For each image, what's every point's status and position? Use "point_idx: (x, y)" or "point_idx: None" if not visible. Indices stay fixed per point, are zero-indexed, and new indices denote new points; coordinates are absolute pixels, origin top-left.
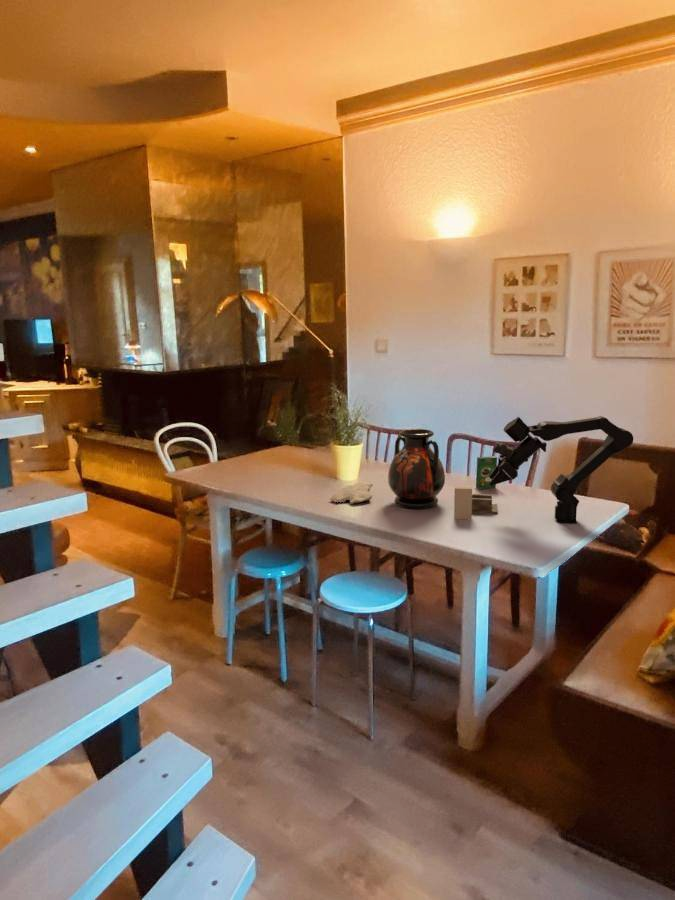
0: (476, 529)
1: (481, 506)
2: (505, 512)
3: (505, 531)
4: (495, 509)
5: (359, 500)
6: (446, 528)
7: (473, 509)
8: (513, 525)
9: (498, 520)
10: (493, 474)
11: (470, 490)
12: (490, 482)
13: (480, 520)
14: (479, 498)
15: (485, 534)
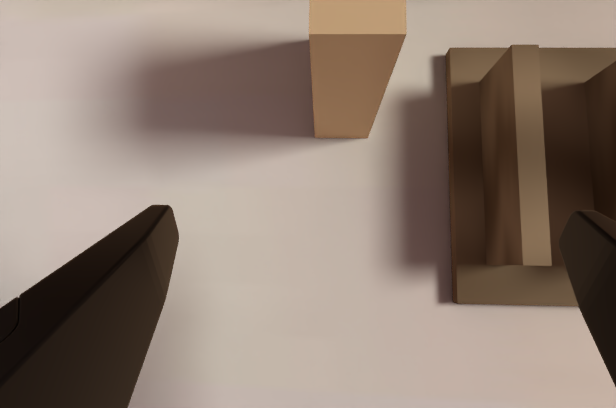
0: (123, 168)
1: (494, 191)
2: (503, 359)
3: None
4: (515, 291)
5: None
6: (128, 7)
7: (481, 143)
8: (220, 396)
9: (314, 303)
10: (612, 277)
11: (311, 27)
12: (135, 216)
13: (299, 191)
14: (544, 163)
15: (37, 218)
